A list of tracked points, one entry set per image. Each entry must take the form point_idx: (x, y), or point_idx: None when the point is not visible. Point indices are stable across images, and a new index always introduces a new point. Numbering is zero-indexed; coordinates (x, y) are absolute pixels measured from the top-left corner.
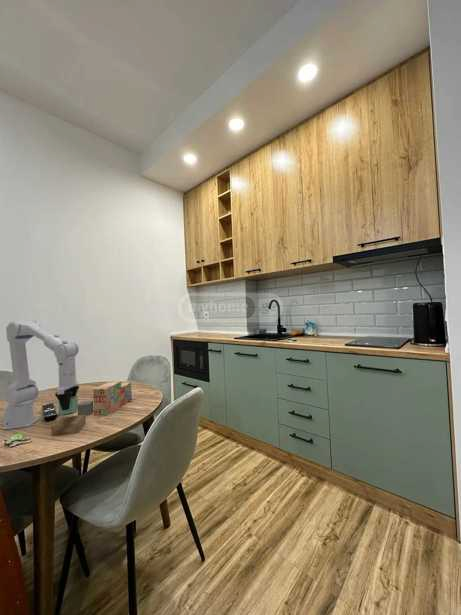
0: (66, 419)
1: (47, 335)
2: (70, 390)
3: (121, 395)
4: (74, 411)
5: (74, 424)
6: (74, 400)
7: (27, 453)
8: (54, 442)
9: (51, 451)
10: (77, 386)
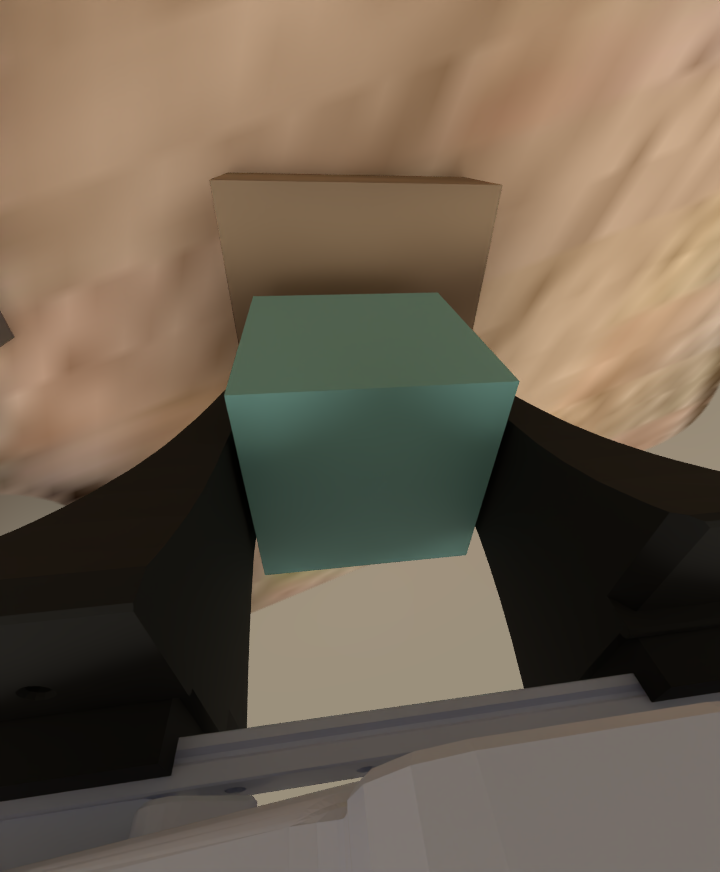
0: None
1: None
2: (220, 633)
3: None
4: (395, 293)
5: (490, 222)
6: (420, 365)
7: (613, 404)
8: (555, 315)
9: (699, 275)
10: (20, 649)
